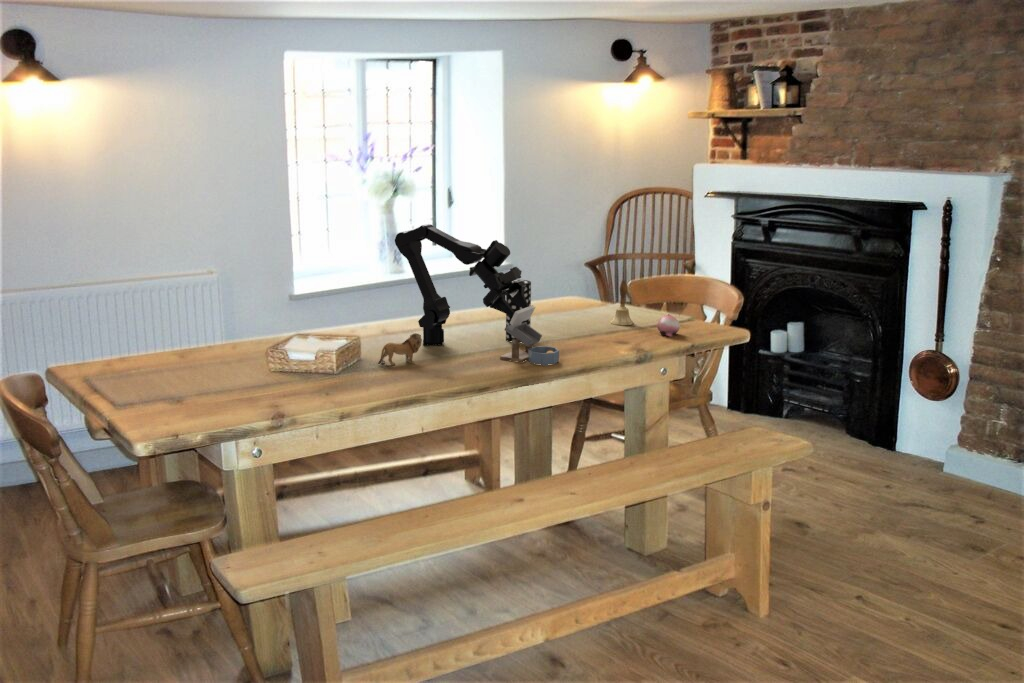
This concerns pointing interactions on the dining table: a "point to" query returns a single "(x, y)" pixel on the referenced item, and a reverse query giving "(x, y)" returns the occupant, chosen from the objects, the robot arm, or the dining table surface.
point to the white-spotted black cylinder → (515, 307)
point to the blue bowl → (543, 355)
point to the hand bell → (622, 308)
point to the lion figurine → (402, 348)
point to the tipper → (523, 327)
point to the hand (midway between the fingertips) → (521, 313)
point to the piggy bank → (668, 325)
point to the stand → (516, 352)
